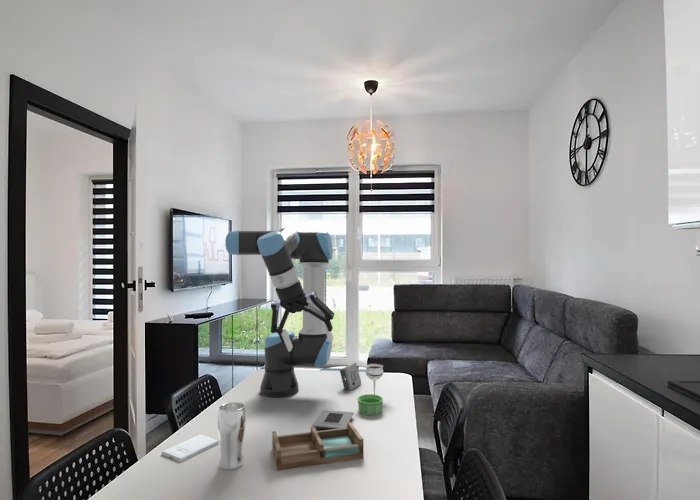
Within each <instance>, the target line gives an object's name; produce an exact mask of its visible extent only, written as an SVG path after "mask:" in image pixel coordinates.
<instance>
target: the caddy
mask: <svg viewBox="0 0 700 500" xmlns="http://www.w3.org/2000/svg"><path fill="white" fill-rule="evenodd" d="M271 437H272V441H271V442H272V443H271V448H272V449H271V450H272V455H273V458H274V462H275V463H274V464H275V468H276V471H277V472H280V471H286V470H287V471H288V470H293V469H299V468H306V467H313V466H318V465H319V466H320V465H326V464H333V463H338V462H345V461H352V460H358V459H364V457H365V456H364V438H363V436H362V435H361V434H360V433H359V431H358V430H357V429H356V427H355V426H354V424H353V423H352V422H351V421H350V422H347V427H346V428H338V429H322V430H317V428H315V427H314V426H313V427H312V426H311V427H310V431H309V432H299V433H292V434H284V435H278V434H277V431H276V430H273V431H272V434H271Z"/></svg>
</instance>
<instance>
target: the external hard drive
mask: <svg viewBox="0 0 700 500" xmlns="http://www.w3.org/2000/svg"><path fill="white" fill-rule="evenodd" d="M217 445H219V440H217V439H215V438H212V437H209V436H207V435H204V434H200V433H199V434H197V435H196V436H193V437H192V438H189V439H186V440H185V441H182V442H180V443H178V444H176V445H174V446H171V447H169V448H167V449H164V450H162V451H161V455H162V456H164V457H167V458H171V459H172V460H174V461H176V462H179V463H182V462H184V461H186V460H188V459H190V458H192V457H195V456H196V455H198V454H200V453H202V452H205V451H206V450H209V449H211V448H213V447H215V446H217Z"/></svg>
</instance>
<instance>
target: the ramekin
mask: <svg viewBox="0 0 700 500" xmlns="http://www.w3.org/2000/svg"><path fill="white" fill-rule="evenodd" d="M356 400H357V404H358V410H359V411H358V412H359V413H361V414H363V415H367V416H374V415H375V416H376V415H378V414H380V413H381V412H382V409H383V402H384V398H383V397H382V396H380V395H378V394H375V395H374V393H372V394H370V393H369V394H368V393H367V394H362V395H359V396H357V399H356Z"/></svg>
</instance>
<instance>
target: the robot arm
mask: <svg viewBox="0 0 700 500" xmlns="http://www.w3.org/2000/svg"><path fill="white" fill-rule="evenodd" d="M225 250H226V251H227V253H228V254H229V255H236V256H250V255H251V256H255V255H257V256H258V255H259V256H261V259H263V262H264V264H265V267H266V269H267V272H268V275H269V277H270V279H271V282H272V285H273V287H274V288H275V293H276V295H277V297H278V300H279V301H277V300H274V301H273V302H272V303H271V306H270V307H271V310H272V315H271V325H270V333H271V334H269V335H267V336H266V337H265V338H264V339H265V340H264V342H265V343H264V374H263V377H262V380H261V383H260V387H259V388H260V389H259V390H260V391H259V392H260V394H261V395H262V396H264V397H268V398H283V397H289V396H292V395H295V394H297V393H298V392H299V381H298V378H297V375H296V373H295V367H314V368H316V367H319V368H320V367H326V366H327V364H328V363H329V361H330V357H331V353H332V347H333V346H332V345H333V341H334V335H333V332H332V331H333V327H334V326H333V325H332V321H331V320H333V319H334V317H335V312H333V311H332V309H331V308H329V307H328V305H326V303H325V285H326V284H325V283H326V282H325V281H326V279H325V277H326V276H325V274H326V273H325V271H326V270H325V268H326V267H327V266H328V265H329V262H330V260H332V259H333V257H334V256H333V255H334V254H333V253H334V249H333V242H332V238H331V235H330V233H329V232H328V231H326V230H320V229H319V230H318V229H317V230H316V229H314V230H296V229H294V228H293V227H289V226H287V227H285V226H284V227H282V228H280V229H279V230H234V231H233V230H231V231H229V232H227V234H226V237H225ZM293 260H299V264H300V266H301V267H302V269H303V270H302V271H303V272H302V273H303V274H302V275H303V277H302V284H301V281H300V279H299V276H298V272H297V270H296V267H295V266H294V262H293ZM280 307H281V308H283V309H284V312H283V315H282V317H281V320H280V323H279V325H278V320H279V310H280ZM300 312H302V327H301V329H300V330H299V331H298V335H296V334H295V332H294V331H290V330H289V331H287V329H286V328H284V327H285V325H286V322H287V320H288V318H289V314H296V313H300Z"/></svg>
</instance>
